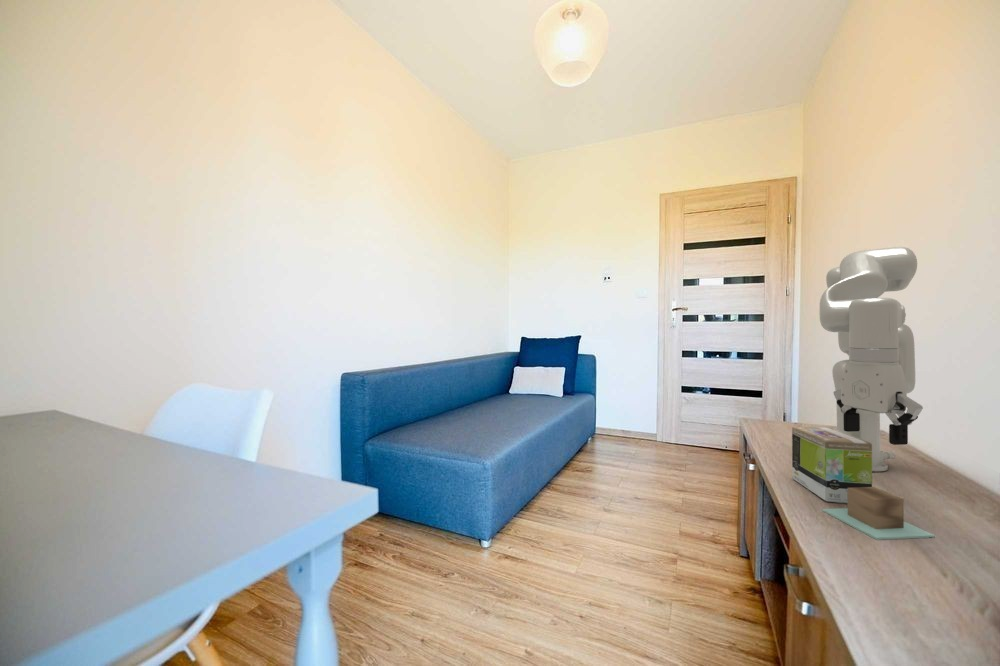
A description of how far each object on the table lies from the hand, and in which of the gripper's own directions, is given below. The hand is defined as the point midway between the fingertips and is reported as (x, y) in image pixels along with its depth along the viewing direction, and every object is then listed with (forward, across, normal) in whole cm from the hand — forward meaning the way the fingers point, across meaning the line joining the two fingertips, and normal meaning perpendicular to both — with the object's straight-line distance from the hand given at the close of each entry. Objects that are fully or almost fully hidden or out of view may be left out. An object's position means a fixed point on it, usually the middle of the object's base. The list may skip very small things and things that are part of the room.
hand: (873, 437), depth 81 cm
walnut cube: (+18, 0, 0) cm, 18 cm away
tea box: (+19, -16, +5) cm, 25 cm away
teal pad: (+18, 0, 0) cm, 18 cm away
